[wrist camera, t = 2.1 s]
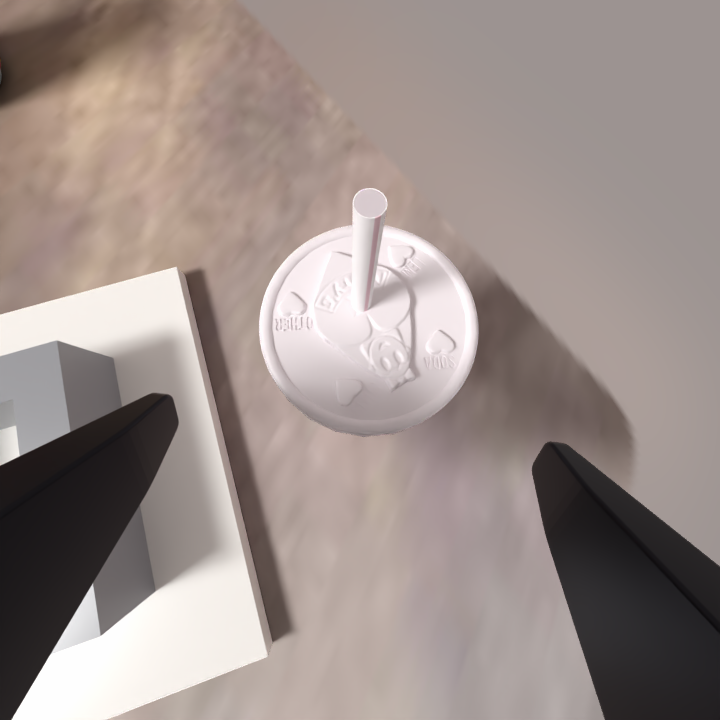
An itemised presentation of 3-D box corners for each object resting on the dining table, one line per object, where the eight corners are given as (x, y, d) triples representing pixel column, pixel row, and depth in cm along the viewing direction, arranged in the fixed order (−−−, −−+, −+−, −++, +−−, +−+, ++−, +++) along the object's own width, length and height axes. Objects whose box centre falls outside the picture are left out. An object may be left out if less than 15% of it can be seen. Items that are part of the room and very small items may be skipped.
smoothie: (383, 304, 20) (456, 23, 6) (437, 401, 19) (672, 317, 5) (284, 352, 19) (118, 151, 5) (334, 456, 18) (286, 531, 4)
